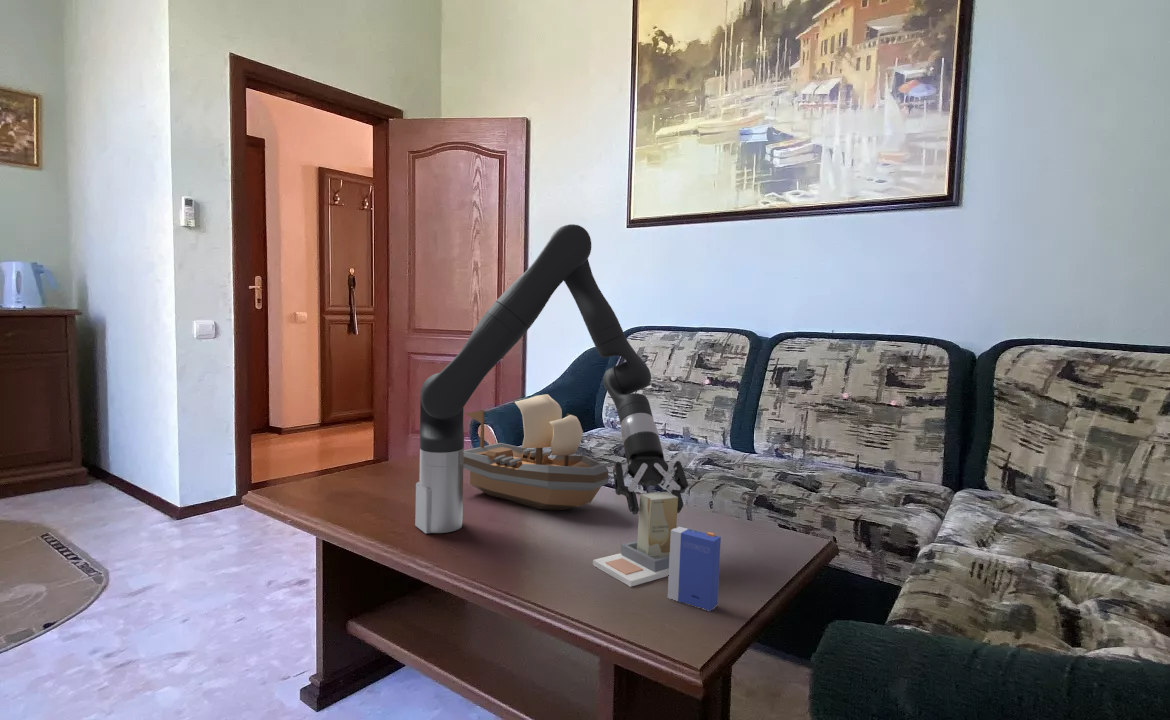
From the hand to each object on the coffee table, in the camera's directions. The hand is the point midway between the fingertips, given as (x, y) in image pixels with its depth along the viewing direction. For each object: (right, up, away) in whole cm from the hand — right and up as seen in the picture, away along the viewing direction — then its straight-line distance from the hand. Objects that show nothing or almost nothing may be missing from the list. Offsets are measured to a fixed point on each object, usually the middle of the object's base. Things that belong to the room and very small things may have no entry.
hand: (657, 512), depth 119 cm
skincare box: (0, -9, +1) cm, 9 cm away
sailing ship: (-29, -6, +40) cm, 49 cm away
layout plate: (-3, -10, -1) cm, 10 cm away
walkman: (+4, -11, -15) cm, 20 cm away
